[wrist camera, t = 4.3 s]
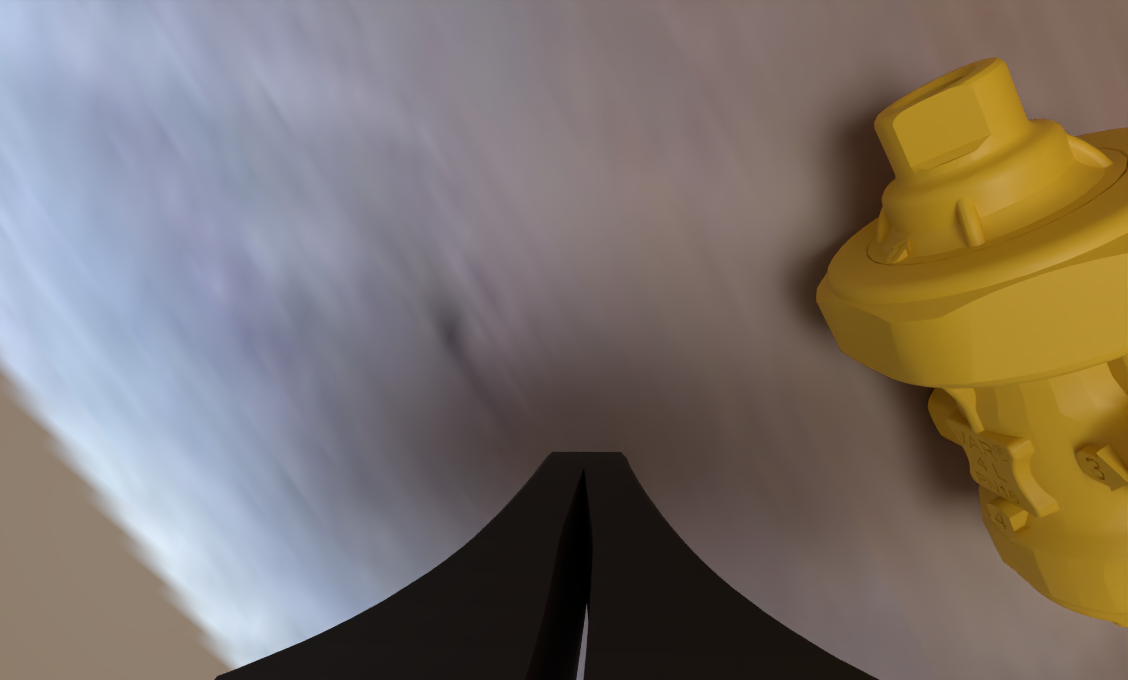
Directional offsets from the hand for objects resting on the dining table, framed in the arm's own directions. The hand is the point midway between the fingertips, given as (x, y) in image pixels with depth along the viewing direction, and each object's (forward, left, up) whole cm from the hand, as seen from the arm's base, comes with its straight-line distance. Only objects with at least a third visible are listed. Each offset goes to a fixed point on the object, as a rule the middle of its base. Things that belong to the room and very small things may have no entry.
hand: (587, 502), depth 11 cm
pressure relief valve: (+4, -11, -4) cm, 12 cm away
